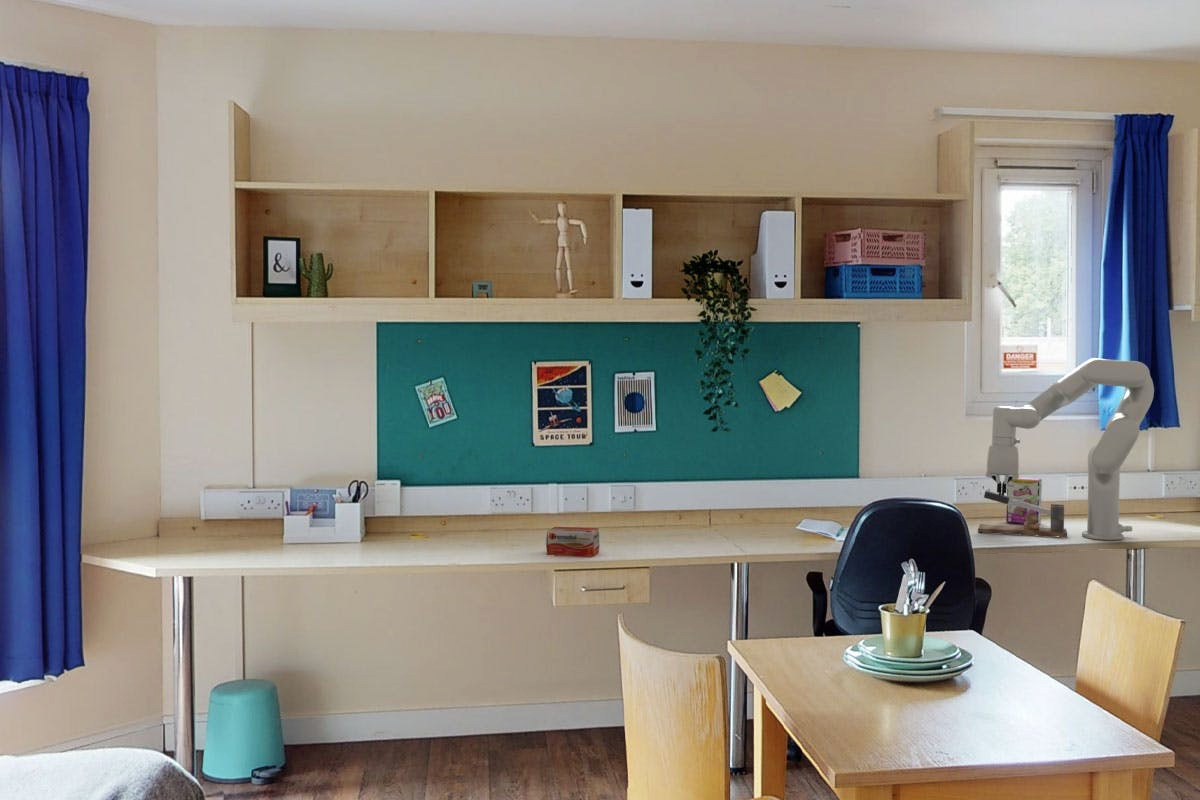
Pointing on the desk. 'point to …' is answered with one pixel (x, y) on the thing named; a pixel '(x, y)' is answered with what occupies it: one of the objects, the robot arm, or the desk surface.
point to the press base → (1019, 530)
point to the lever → (1015, 502)
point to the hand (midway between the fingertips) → (1001, 494)
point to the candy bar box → (1023, 498)
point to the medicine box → (572, 541)
